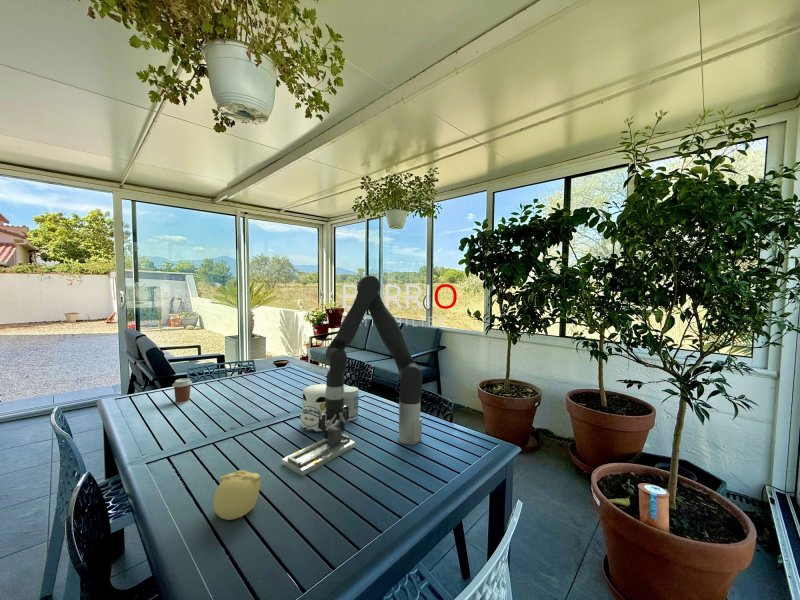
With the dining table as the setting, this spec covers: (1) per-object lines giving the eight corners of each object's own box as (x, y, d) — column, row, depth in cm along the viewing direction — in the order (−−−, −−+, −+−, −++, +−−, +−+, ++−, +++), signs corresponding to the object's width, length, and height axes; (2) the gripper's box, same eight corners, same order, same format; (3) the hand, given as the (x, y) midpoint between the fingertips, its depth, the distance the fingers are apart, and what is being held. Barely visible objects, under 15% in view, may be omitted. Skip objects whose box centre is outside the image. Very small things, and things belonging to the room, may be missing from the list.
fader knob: (334, 439, 131) (334, 425, 131) (341, 442, 129) (341, 427, 129) (327, 443, 128) (327, 428, 128) (333, 446, 126) (334, 431, 125)
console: (335, 438, 137) (335, 430, 137) (355, 446, 130) (355, 438, 130) (282, 464, 116) (282, 455, 116) (302, 476, 109) (302, 466, 109)
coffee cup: (174, 399, 177) (174, 378, 177) (193, 397, 181) (193, 377, 181) (170, 405, 169) (170, 383, 169) (190, 403, 173) (190, 381, 173)
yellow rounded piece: (265, 496, 98) (265, 462, 98) (247, 525, 86) (247, 487, 86) (227, 496, 98) (227, 462, 97) (205, 525, 86) (205, 487, 85)
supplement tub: (358, 421, 155) (358, 391, 154) (338, 422, 153) (339, 392, 153) (358, 413, 164) (358, 385, 164) (339, 414, 163) (340, 386, 162)
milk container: (299, 437, 137) (300, 396, 136) (301, 420, 154) (301, 384, 153) (339, 433, 142) (340, 393, 141) (337, 417, 158) (337, 382, 158)
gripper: (327, 402, 120) (326, 444, 121) (353, 393, 132) (352, 431, 132) (314, 398, 125) (313, 438, 125) (341, 389, 136) (340, 426, 137)
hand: (333, 434), depth 129 cm, fingers open, 8 cm apart
